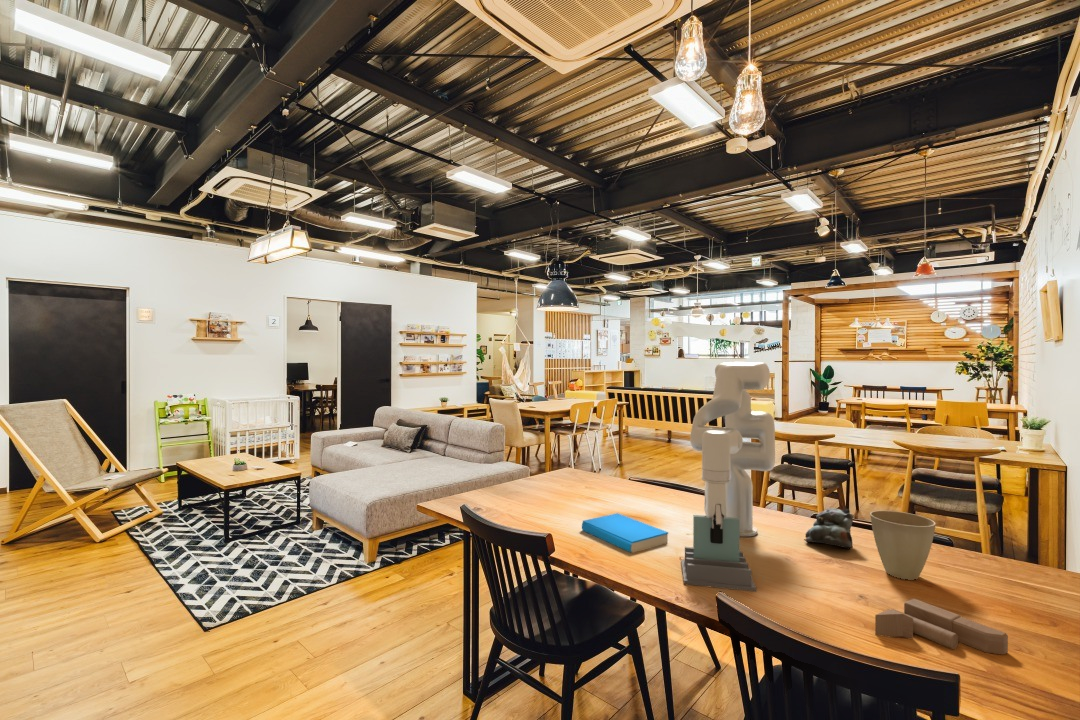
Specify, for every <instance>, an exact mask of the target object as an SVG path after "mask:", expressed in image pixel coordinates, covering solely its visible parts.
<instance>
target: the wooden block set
mask: <svg viewBox="0 0 1080 720" xmlns="http://www.w3.org/2000/svg"><path fill="white" fill-rule="evenodd" d="M903 610H904V611H903V612H902V611H900V610H897V609H894V608H893V609H892V608H891V609H890V608H888V609H886V610H883V611H881V612H879V613H876V614H875V615H874V616H875V617H874V619H875V621H874V622H875V624H874V625H875V629H874V631H875V633H874V634H875V636H880V635H882V636H883V637H888V636H890V637H889V638H898V637H900V638H899V639H908V638H910V639H911V640H912V639H914V634H915V635H917V636H920V637H922V638H925V639H926V640H929V641H932V642H934V643H937V644H940V645H942V646H944V647H945V648H946V647H947V648H948V649H951V650H956V649H957V647H958V645H959V643H962V644H963V645H966V646H969V647H971V648H974V649H976V650H978V651H981V652H983V653H985V654H992V653H993V654H994V655H999V654H1001V655H1000V656H1004V655H1006V654H1007V653H1009V652H1008V651H1009V649H1008V648H1009V642H1008V641H1009V635H1008V634H1007V633H1006V632H1004V631H1001V630H998V629H997V628H993V627H991V626H987V625H985V624H982V623H979V622H976V621H974V620H971V619H968V618H965V617H963V616H961V615H960V614H957V613H955V612H952V611H950V610H946V609H944V608H941V607H939V606H935V605H932V604H931V603H927V602H924V601H922V600H919V599H917V598H911V599H909V600H907V601H904V605H903ZM910 639H909V640H910Z"/></svg>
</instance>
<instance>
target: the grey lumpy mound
mask: <svg viewBox="0 0 1080 720" xmlns="http://www.w3.org/2000/svg"><path fill="white" fill-rule="evenodd" d="M853 518H854V514H852V513H851V511H850V508H844V509H839V508H833V507H832V508H826V509H825V510H822V511H820V512H819V513H818V514H816V520H814V522H813V525H812V527H810V528H808V530H807V531H806V533H805V538H804V539H803V541H805V542H806V543H807V542H808V543H819V544H826V545H830V546H831V545H832V546H838V547H842V548H844V549H847V550H851V549H853V548H854V547H853V545H854V544H853V537H852V535H851V534H852V532H851V528H852V526H853V525H852V524H853V521H854V520H853Z"/></svg>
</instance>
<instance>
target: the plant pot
mask: <svg viewBox="0 0 1080 720" xmlns="http://www.w3.org/2000/svg"><path fill="white" fill-rule="evenodd" d="M869 515H870V521H871V522H870V523H871V528H872V532H873V533H872V534H873V536H874V541H875V544H876V545H875V546H876V548H877V552H878V555H879V557H880V560H881V563H882V566H883V568H884V571H885V573H886V572H887V574H888V575H889V574H890V576H891V575H892V576H891V577H893V576H894V578H896V577H897V579H900V578H901V579H900V580H905V579H908V580H907V581H915V580H914V579H916V580H918V579H920V578H919V577H920V575H921V573H922V572H923V570H924V568H925V566H926V562H927V560H928V558H929V555H930V551H931V548H932V544H933V540H934V534H935V531H936V530H935V529H936V523H937V522H935V521H934V520H932V519H930V518H927V517H926V516H922V515H919V514H913V513H910V512H904V511H896V510H894V511H893V510H874V511H871V512H869Z"/></svg>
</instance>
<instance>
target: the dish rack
mask: <svg viewBox="0 0 1080 720" xmlns="http://www.w3.org/2000/svg"><path fill="white" fill-rule="evenodd" d="M746 561H747V559H746V557H745V556H744V552H743V551H740V550H739V562H732V561H721V560H709V559H698V558H693V546H692V547H690V546H684V559H683V558H681V560H680V564H681V571H682V572H681V573H682V579H683V584H684V585H686V584H688V585H687V586H689V585H690V586H696V585H697V586H699V587H706V586H711V587H710V588H716V587H718V588H717V589H728V590H739V591H747V592H748V591H749V592H757V586H756V584H755V581H754V580H753V578H752V569H751V568H749V566H750V565H749V562H746Z"/></svg>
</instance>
